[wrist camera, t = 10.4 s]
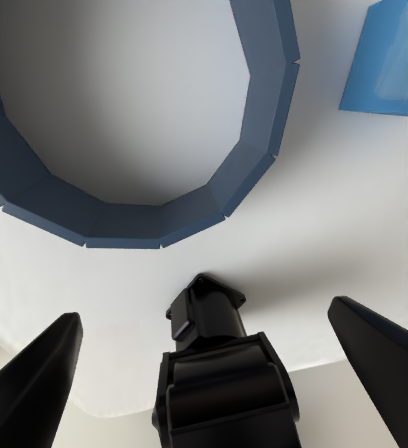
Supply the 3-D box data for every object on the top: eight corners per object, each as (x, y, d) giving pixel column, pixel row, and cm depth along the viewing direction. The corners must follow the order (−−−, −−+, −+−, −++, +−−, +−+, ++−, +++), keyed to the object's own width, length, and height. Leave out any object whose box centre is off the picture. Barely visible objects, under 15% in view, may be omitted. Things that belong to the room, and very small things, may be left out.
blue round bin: (307, 65, 17) (364, 50, 12) (170, 246, 22) (172, 287, 17) (47, -232, 10) (-61, -539, 5) (-61, 126, 15) (-166, 137, 10)
